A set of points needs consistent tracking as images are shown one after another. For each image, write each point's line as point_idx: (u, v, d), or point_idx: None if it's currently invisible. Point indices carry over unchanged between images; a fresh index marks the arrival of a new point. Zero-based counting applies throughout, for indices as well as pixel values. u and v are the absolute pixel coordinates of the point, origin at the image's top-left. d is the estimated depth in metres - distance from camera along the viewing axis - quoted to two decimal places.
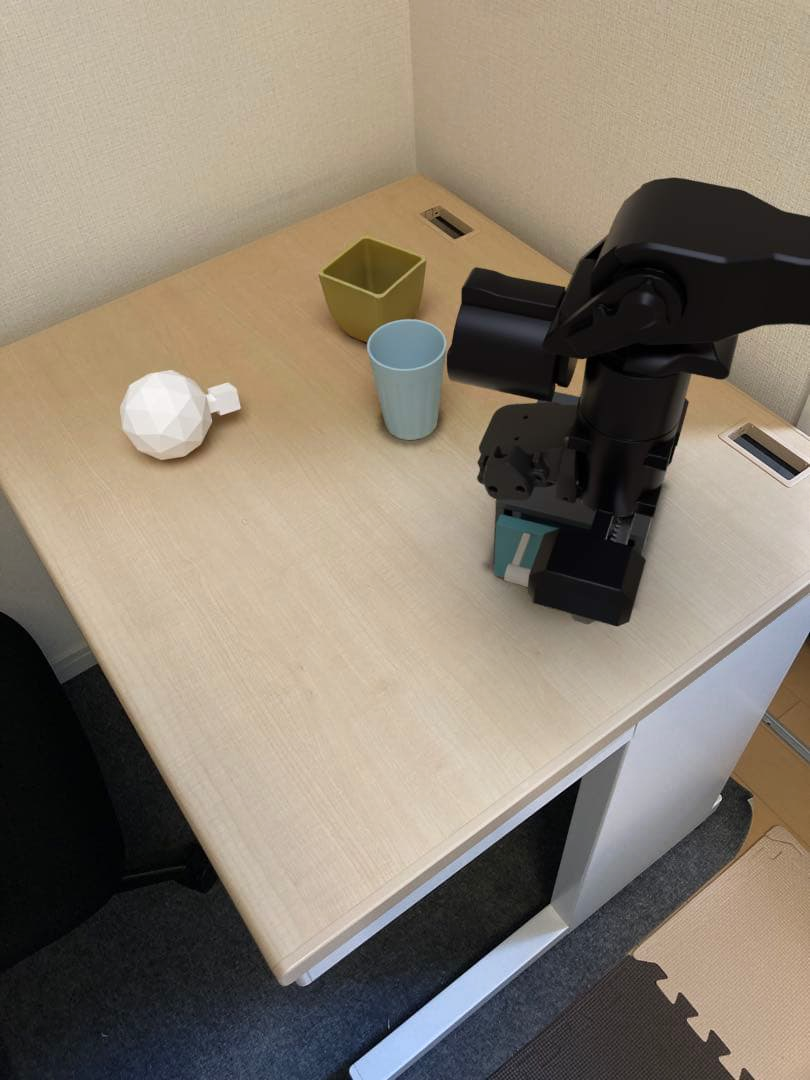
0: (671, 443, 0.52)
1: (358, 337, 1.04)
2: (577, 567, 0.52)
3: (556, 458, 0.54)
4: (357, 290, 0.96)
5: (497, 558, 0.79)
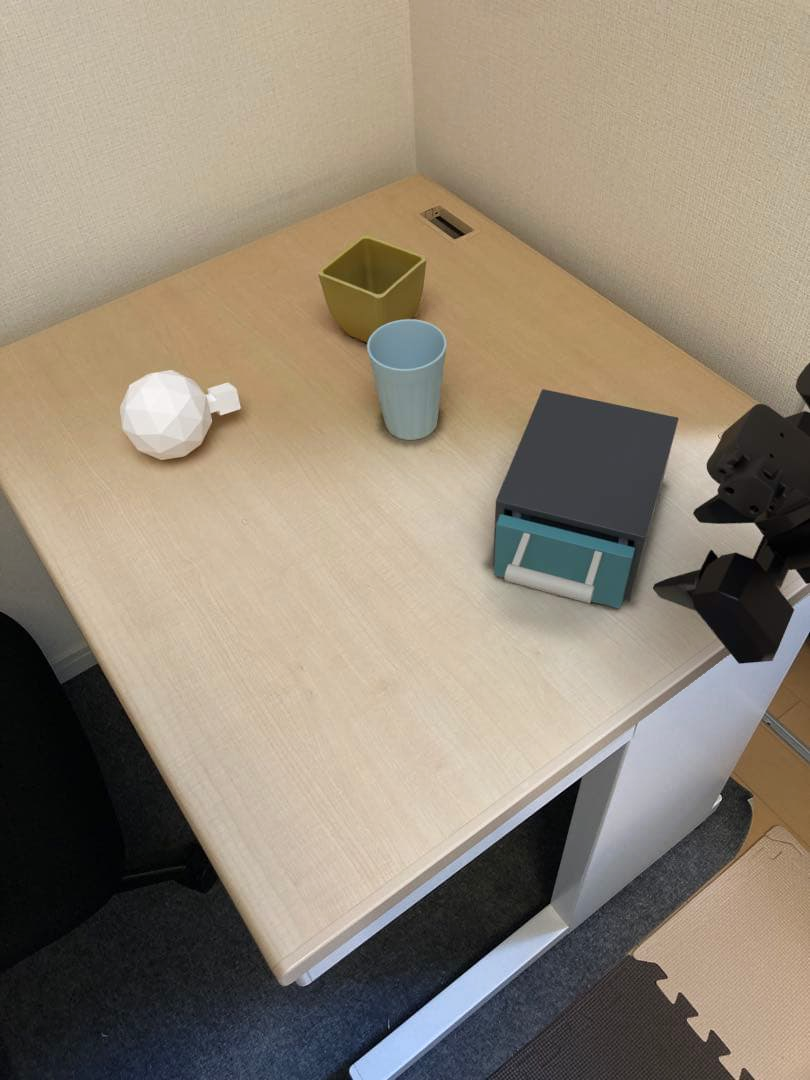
0: None
1: (358, 337, 1.04)
2: (758, 609, 0.54)
3: (796, 501, 0.54)
4: (357, 290, 0.96)
5: (497, 558, 0.79)
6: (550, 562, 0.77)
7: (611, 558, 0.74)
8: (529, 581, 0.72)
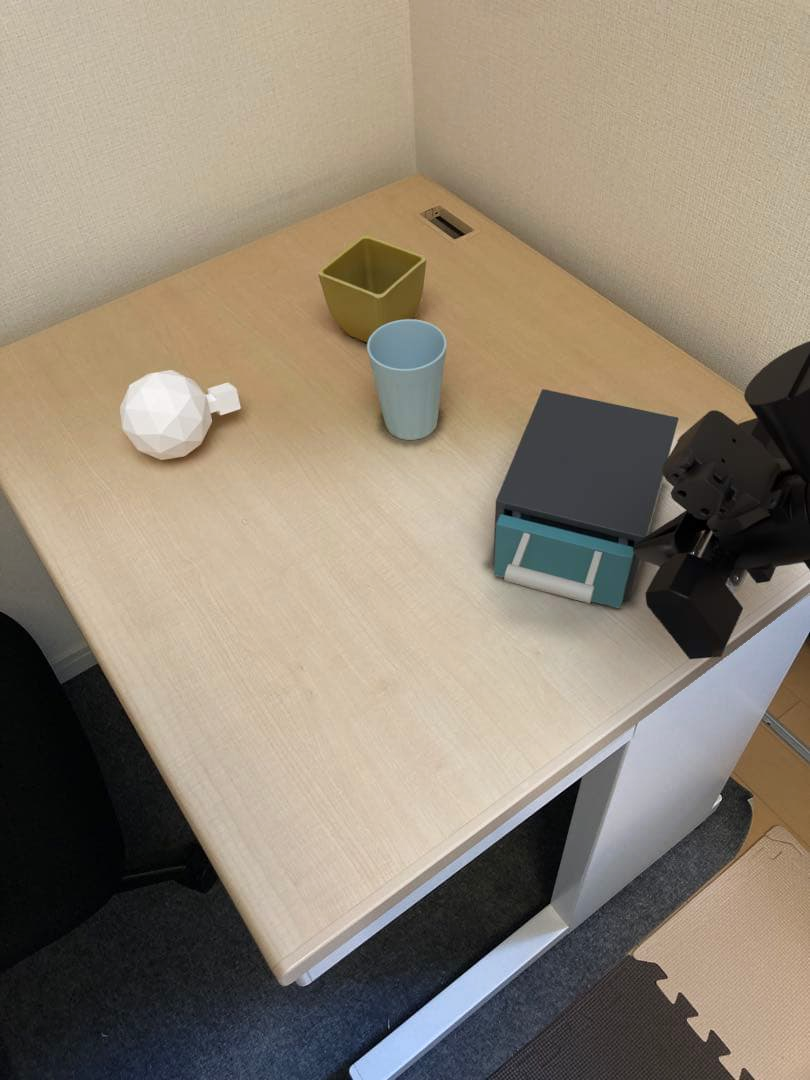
0: None
1: (358, 337, 1.04)
2: (707, 607, 0.57)
3: (745, 504, 0.57)
4: (357, 290, 0.96)
5: (497, 558, 0.79)
6: (550, 562, 0.77)
7: (611, 558, 0.74)
8: (529, 581, 0.72)
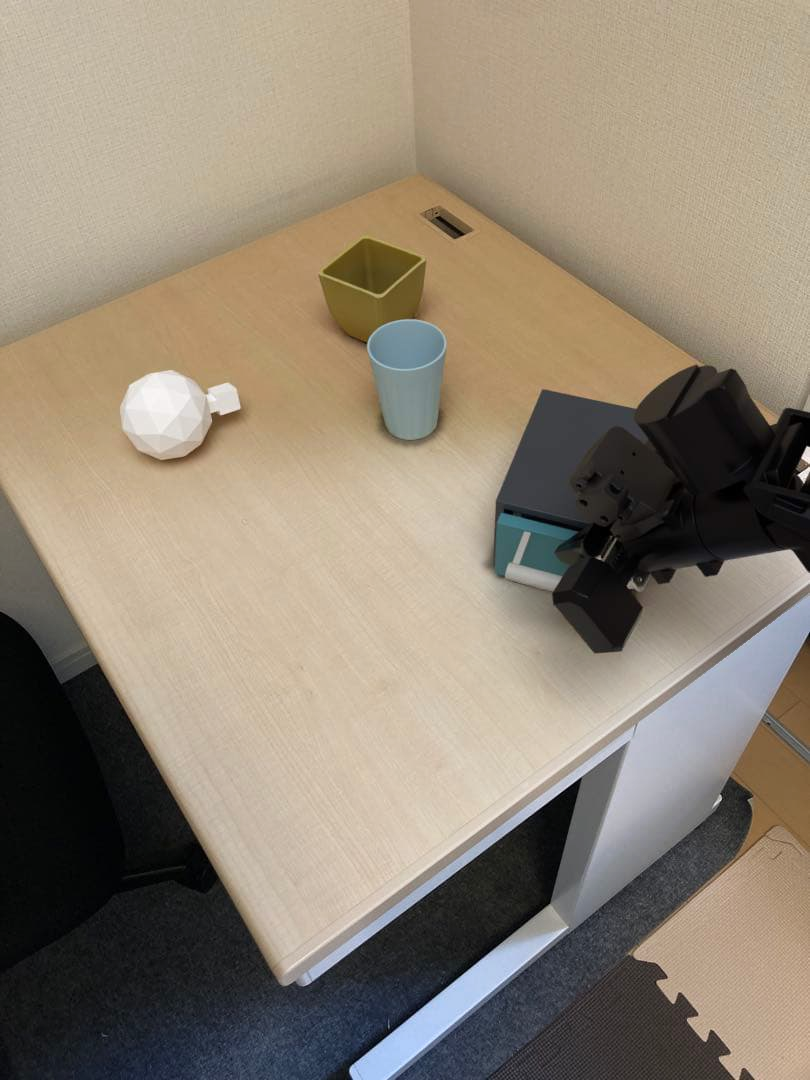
0: (723, 561, 0.63)
1: (358, 337, 1.04)
2: (607, 606, 0.62)
3: (642, 513, 0.62)
4: (357, 290, 0.96)
5: (498, 557, 0.80)
6: (550, 560, 0.77)
7: None
8: (530, 579, 0.72)
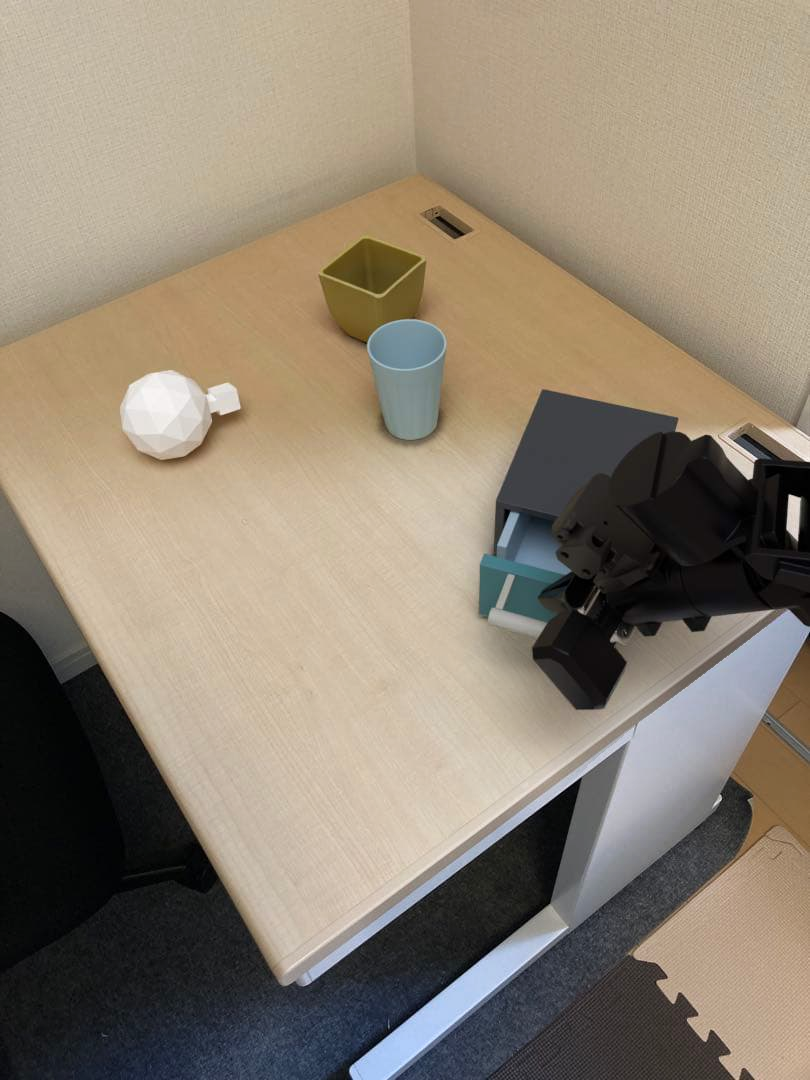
0: None
1: (358, 337, 1.04)
2: (588, 663, 0.60)
3: (626, 565, 0.60)
4: (357, 290, 0.96)
5: (481, 598, 0.77)
6: (535, 603, 0.75)
7: None
8: (513, 625, 0.70)
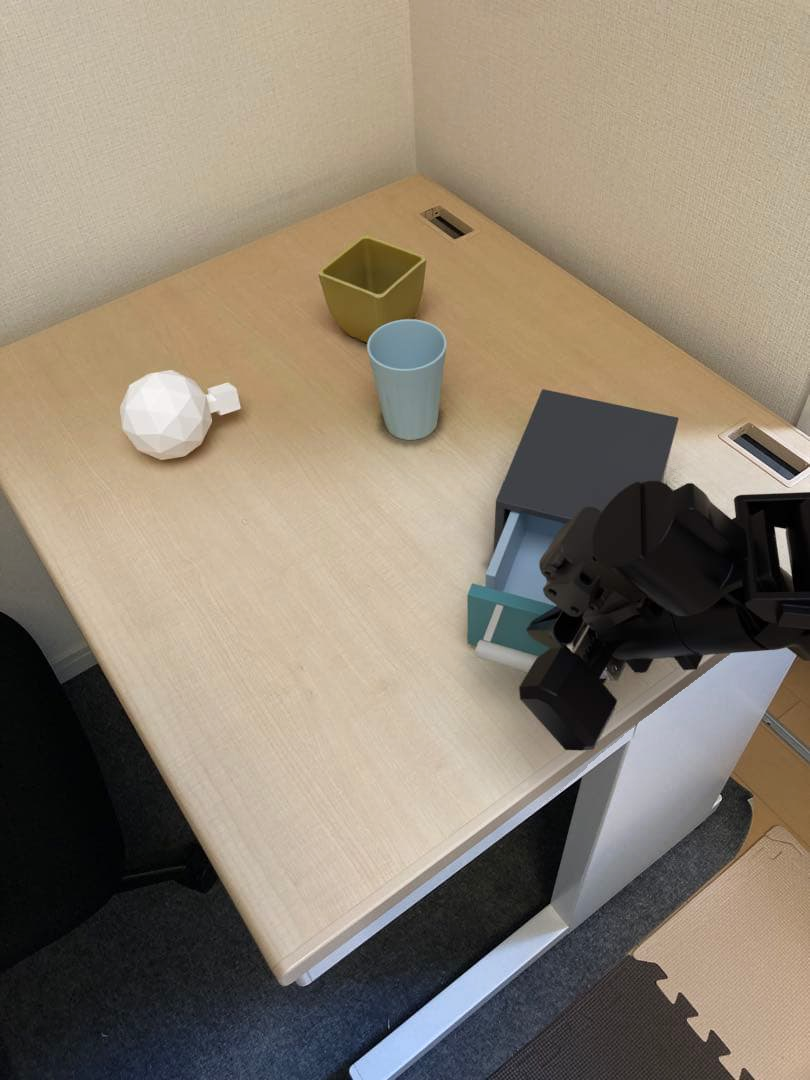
0: None
1: (358, 337, 1.04)
2: (577, 703, 0.58)
3: (616, 602, 0.58)
4: (357, 290, 0.96)
5: (470, 627, 0.75)
6: (525, 633, 0.73)
7: None
8: (501, 659, 0.68)
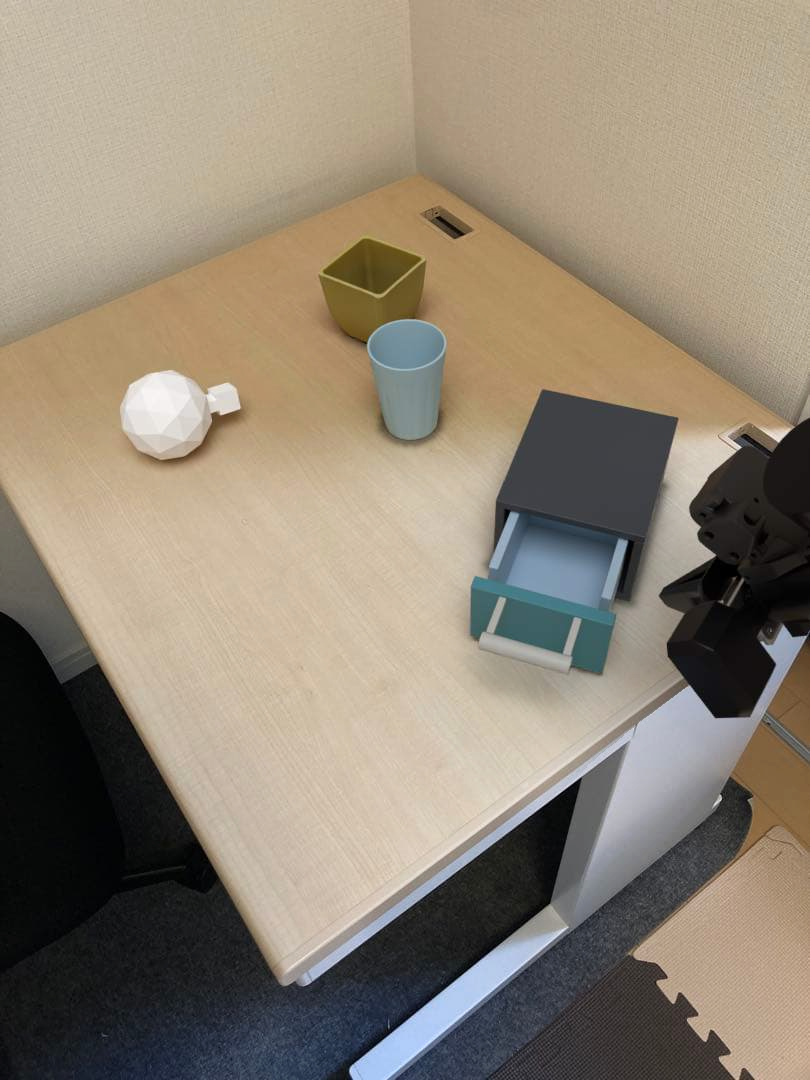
0: None
1: (358, 337, 1.04)
2: (735, 662, 0.51)
3: (780, 550, 0.52)
4: (357, 290, 0.96)
5: (473, 620, 0.76)
6: (527, 626, 0.73)
7: (591, 624, 0.70)
8: (504, 650, 0.68)
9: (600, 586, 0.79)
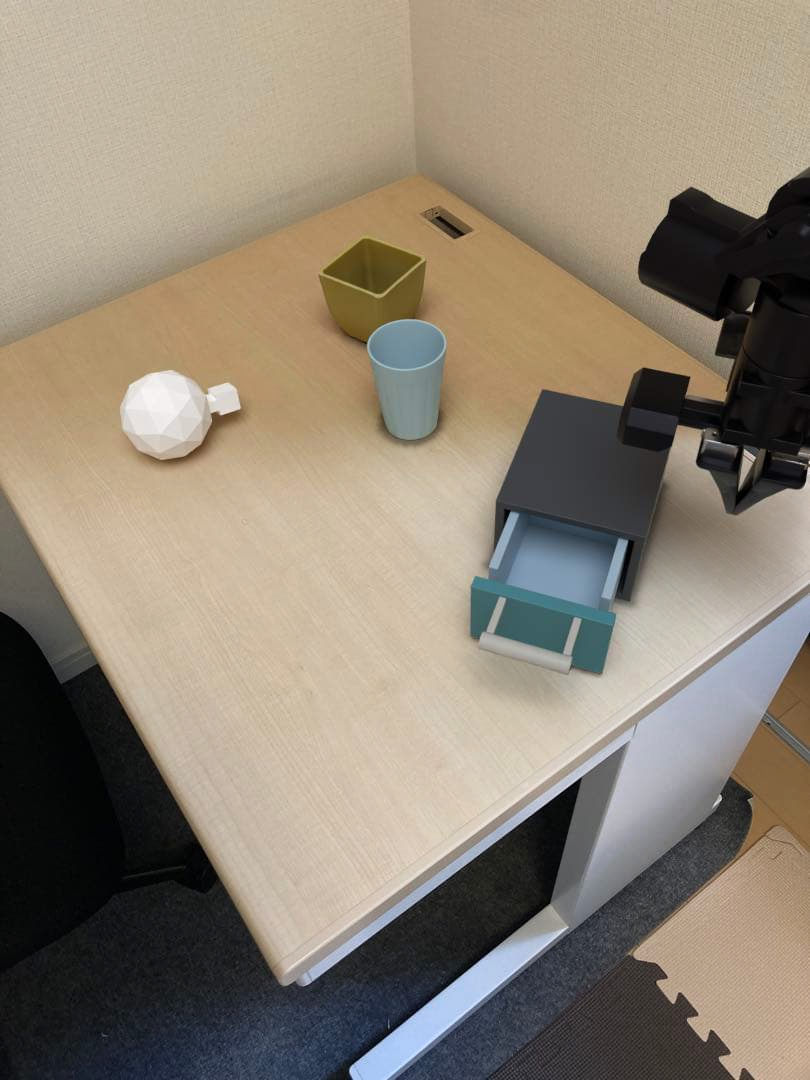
0: (761, 385, 0.57)
1: (358, 337, 1.04)
2: (649, 384, 0.64)
3: None
4: (357, 290, 0.96)
5: (473, 620, 0.76)
6: (527, 626, 0.73)
7: (591, 624, 0.70)
8: (504, 650, 0.68)
9: (600, 586, 0.79)
